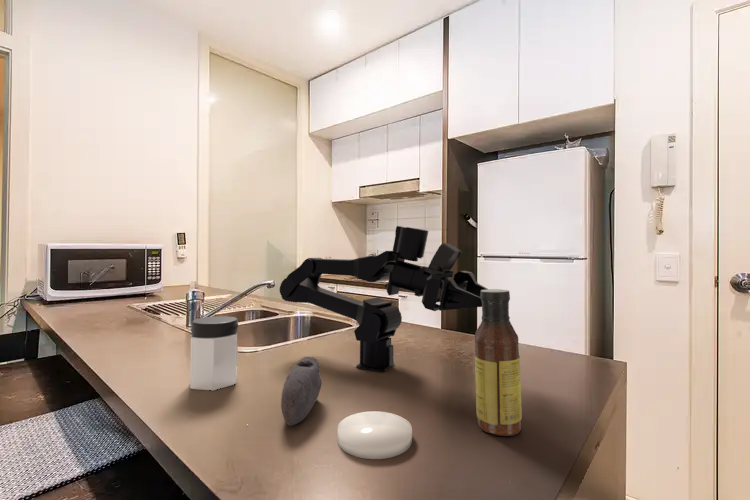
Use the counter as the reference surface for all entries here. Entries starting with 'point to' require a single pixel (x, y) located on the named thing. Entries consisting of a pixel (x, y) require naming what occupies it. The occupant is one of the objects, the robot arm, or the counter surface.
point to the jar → (213, 352)
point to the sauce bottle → (497, 367)
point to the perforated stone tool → (300, 390)
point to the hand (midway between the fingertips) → (493, 300)
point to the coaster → (374, 435)
